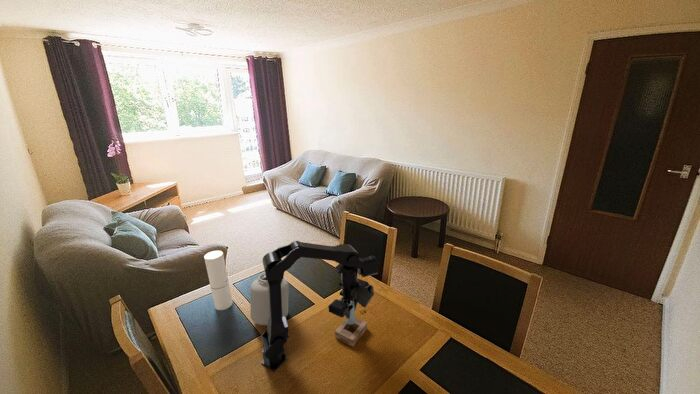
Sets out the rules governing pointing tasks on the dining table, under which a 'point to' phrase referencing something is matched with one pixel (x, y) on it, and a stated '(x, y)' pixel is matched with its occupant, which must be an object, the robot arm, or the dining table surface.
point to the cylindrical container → (218, 279)
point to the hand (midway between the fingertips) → (350, 315)
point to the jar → (265, 300)
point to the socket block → (348, 336)
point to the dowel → (351, 315)
